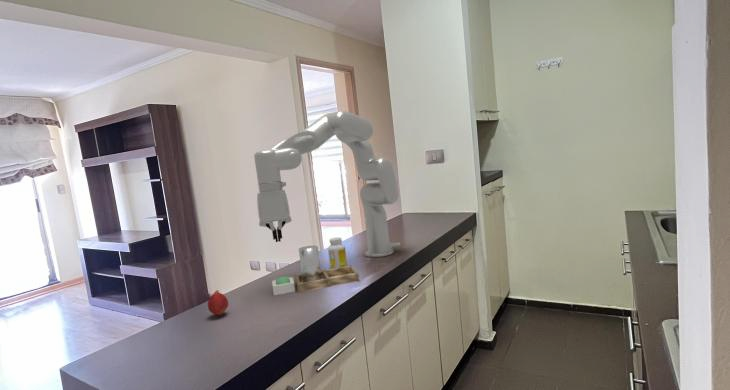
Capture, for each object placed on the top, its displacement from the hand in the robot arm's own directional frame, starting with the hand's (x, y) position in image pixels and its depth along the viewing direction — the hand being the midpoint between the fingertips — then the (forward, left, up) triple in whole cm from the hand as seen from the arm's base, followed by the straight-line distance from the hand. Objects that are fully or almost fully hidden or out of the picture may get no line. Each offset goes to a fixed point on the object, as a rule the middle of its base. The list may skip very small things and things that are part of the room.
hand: (278, 241), depth 132 cm
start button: (0, 0, -18) cm, 18 cm away
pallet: (-15, -1, -18) cm, 23 cm away
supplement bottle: (-22, -15, -18) cm, 32 cm away
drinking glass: (-10, -1, -17) cm, 20 cm away
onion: (+20, +10, -18) cm, 29 cm away
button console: (0, 0, -18) cm, 18 cm away
